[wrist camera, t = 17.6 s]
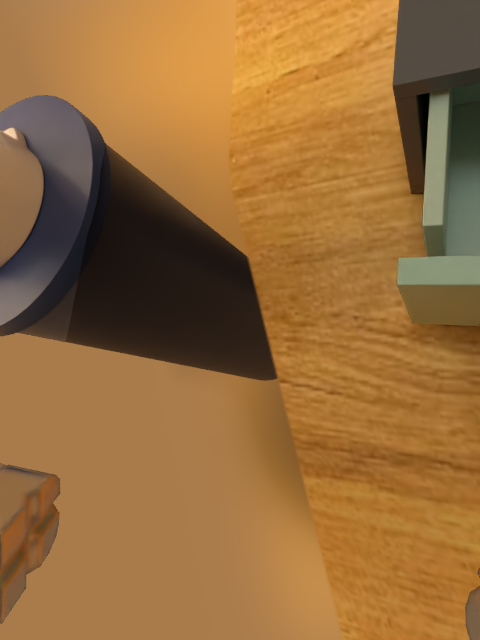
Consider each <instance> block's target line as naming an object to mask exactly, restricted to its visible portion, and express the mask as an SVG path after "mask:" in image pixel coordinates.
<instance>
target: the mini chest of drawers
mask: <svg viewBox="0 0 480 640" xmlns="http://www.w3.org/2000/svg"><path fill="white" fill-rule="evenodd" d="M476 83H480V0H399V10H398V23H397V36H396V49H395V62H394V75H393V90H394V96H395V102H396V108H397V113H398V119H399V125H400V131H401V137H402V143H403V148H404V154H405V160H406V166H407V172H408V178H409V183H410V189H411V193H423V192H424V184H425V167H426V150H427V133H428V116H429V99H430V92H435V91H440V90H445V89H450V88H455V87H460V86H466V85H471V84H476Z"/></svg>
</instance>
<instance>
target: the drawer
mask: <svg viewBox="0 0 480 640" xmlns="http://www.w3.org/2000/svg"><path fill="white" fill-rule="evenodd" d="M422 229H423V236H424V243H425V250H426V256H427V257H400V258H399V259H398V274H397V286H398V288H399V291H400V293H401V296H402V298H403V301H404V303H405V306H406V308H407V311H408V314H409V316H410V319H411V321H412V323H415V324H440V325H465V326H480V83H476V84H471V85H466V86H460V87H455V88H450V89H445V90H440V91H435V92H430V99H429V116H428V133H427V150H426V167H425V184H424V200H423V217H422Z"/></svg>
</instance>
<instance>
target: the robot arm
mask: <svg viewBox="0 0 480 640" xmlns="http://www.w3.org/2000/svg"><path fill="white" fill-rule="evenodd" d="M43 190H44V176H43V170H42V167H41V164H40V162H39V160H38V158H37V157H36V156H35V155H34V154H33V153H32V152H31V151H30V150H29V149H28V148H27V145H26V141H25V137H24V135H23V133H22V132H20V131H18V130H17V129H15V128H9V129H7V130H5V131H3V132H2V131H0V268H1V267H2V266H3V265H4V264H5V263H6V262H7V261H9V260H10V259H11V258H12V257H13V256H14V255H15V254H16V252H17V251H18V250H19V249H20V248H21V246H22V245H23V244H24V242H25V241H26V239H27V237H28V236H29V234H30V232H31V230H32V228H33V226H34V224H35V222H36V219H37V216H38V213H39V210H40V207H41V203H42V198H43ZM59 494H60V478H58V476H57V475H54V474H49V473H44V472H40V471H35V470H30V469H26V468H21V467H17V466H12V465H5V464H1V463H0V623H3V621H4V620H5V618H6V617H7V615H8V614H9V612H10V611H11V610H12V608H13V607H14V605H15V604H16V602H17V601H18V599H19V598H20V596H21V594H22V593H23V592H24V590H25V589H26V575H27V574H28V573H30V572H32V571H33V570H35V569H37V568H39V567H40V566H41V565H42V563H43V562H44V560H45V559H46V557H47V556H48V554H49V552H50V550H51V547H52V545H53V543H54V540H55V538H56V535H57V530H58V525H59V512H58V510H57V509H56V507H55V505H54V504H53V502H54V501H55V499H56V498H57V497H58V496H59ZM477 574H478V576H479V578H480V568H479V570H478V573H477ZM465 612H466V627H467V631H468V635H469V639H470V640H480V586H479V587H477V588H476V589H474V590H473V591H471V592H470V594H469V597H468V600H467V604H466V607H465Z"/></svg>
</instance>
